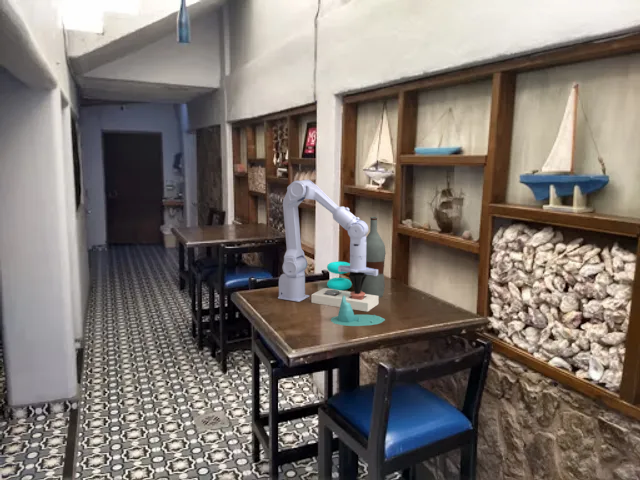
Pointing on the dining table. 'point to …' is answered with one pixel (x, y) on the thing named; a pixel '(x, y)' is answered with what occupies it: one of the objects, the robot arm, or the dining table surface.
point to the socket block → (356, 304)
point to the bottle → (374, 261)
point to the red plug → (357, 295)
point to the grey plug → (332, 292)
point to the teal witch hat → (354, 316)
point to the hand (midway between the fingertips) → (357, 293)
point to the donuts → (339, 282)
